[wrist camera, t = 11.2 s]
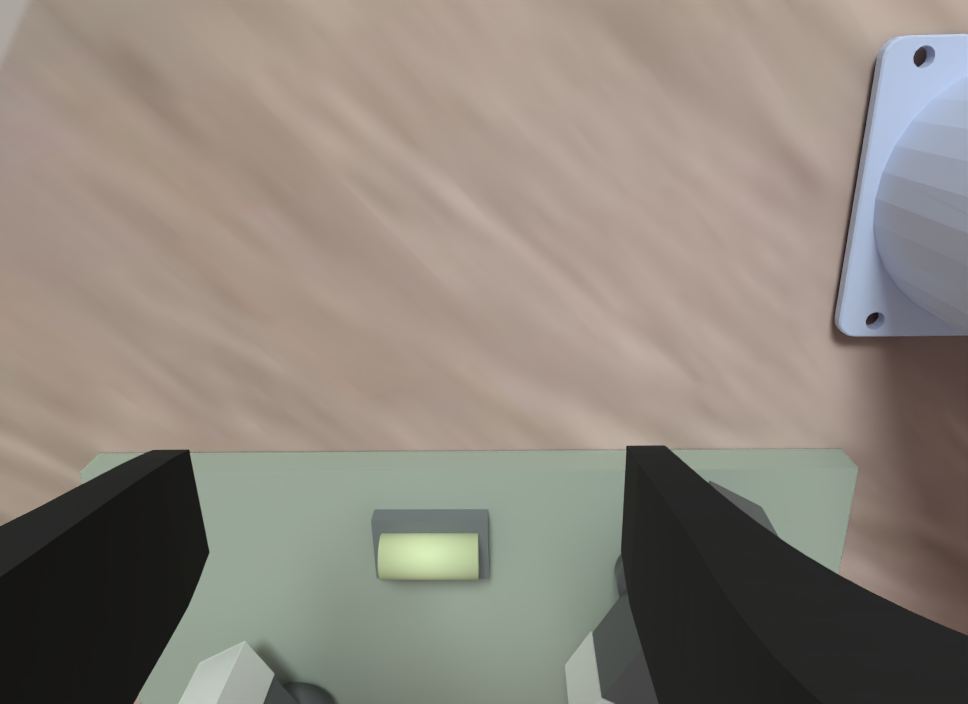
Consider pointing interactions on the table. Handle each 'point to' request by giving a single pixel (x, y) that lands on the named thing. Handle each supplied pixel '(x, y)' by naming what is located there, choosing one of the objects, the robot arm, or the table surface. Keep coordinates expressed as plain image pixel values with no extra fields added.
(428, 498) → the base plate
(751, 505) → the knob
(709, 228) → the table surface
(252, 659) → the knob
